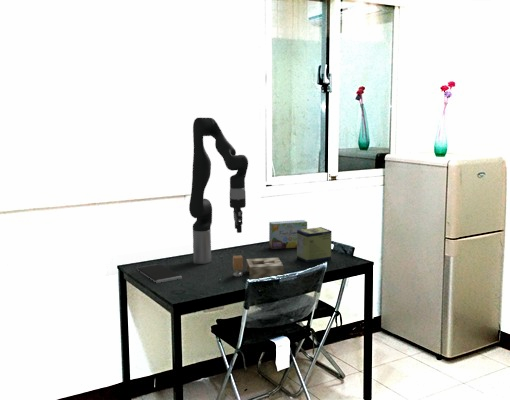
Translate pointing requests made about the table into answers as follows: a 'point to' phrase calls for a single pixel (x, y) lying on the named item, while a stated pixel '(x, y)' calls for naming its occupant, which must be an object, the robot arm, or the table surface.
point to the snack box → (285, 233)
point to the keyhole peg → (238, 265)
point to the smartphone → (159, 273)
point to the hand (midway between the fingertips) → (238, 230)
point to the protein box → (313, 244)
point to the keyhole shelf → (264, 267)
